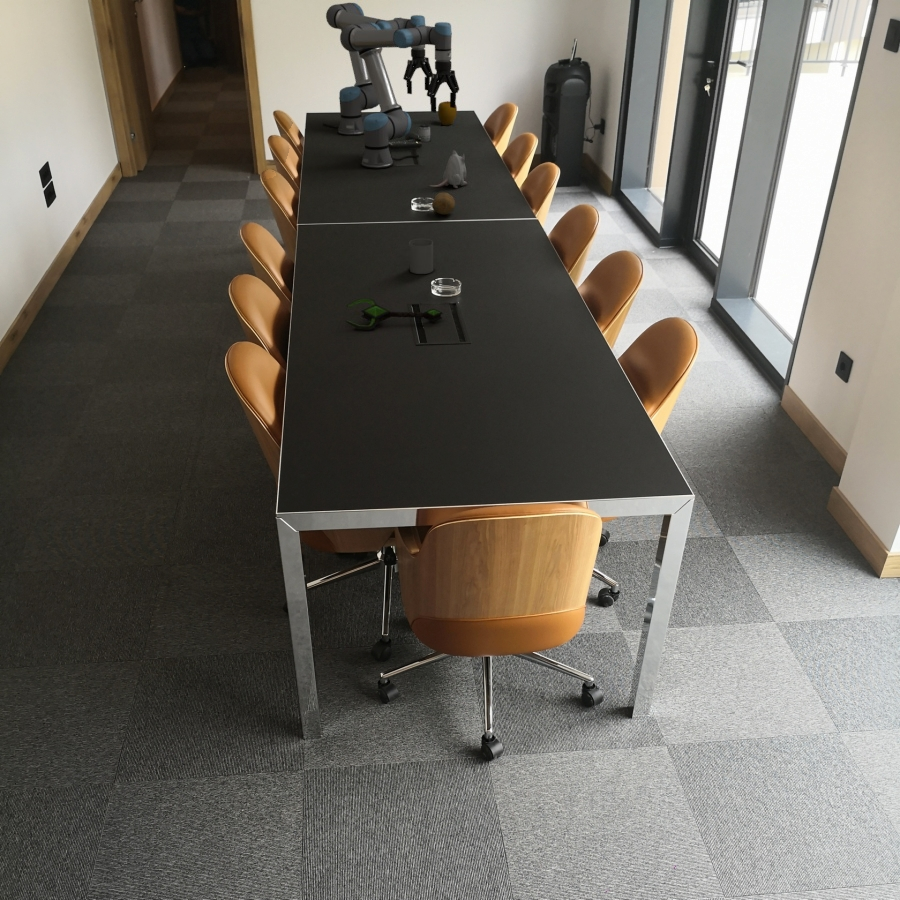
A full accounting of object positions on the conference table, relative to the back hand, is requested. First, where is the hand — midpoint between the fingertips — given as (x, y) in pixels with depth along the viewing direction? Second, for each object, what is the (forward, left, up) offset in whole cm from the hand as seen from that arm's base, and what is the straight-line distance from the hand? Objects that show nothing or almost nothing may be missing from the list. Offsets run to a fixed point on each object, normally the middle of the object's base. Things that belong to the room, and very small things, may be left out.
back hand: (418, 92), depth 463 cm
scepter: (+98, -223, -24) cm, 245 cm away
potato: (+67, -117, -24) cm, 137 cm away
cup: (+87, -179, -24) cm, 201 cm away
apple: (+1, +36, -24) cm, 43 cm away
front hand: (+39, -55, +4) cm, 68 cm away
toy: (+54, -82, -24) cm, 101 cm away
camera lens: (+5, -4, -24) cm, 25 cm away
